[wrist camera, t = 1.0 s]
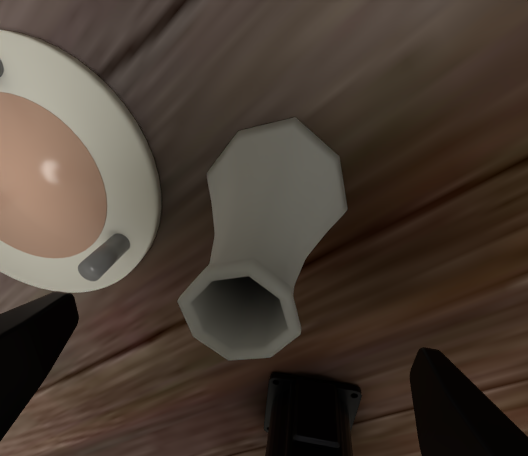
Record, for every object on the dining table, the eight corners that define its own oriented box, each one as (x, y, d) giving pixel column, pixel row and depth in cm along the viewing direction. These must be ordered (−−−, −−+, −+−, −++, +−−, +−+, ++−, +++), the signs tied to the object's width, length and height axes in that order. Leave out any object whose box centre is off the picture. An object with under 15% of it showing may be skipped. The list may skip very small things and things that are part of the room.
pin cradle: (169, 297, 22) (141, 343, 18) (-33, 267, 23) (-96, 304, 20) (149, 40, 15) (98, 34, 12) (-137, 18, 16) (-261, 7, 13)
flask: (257, 266, 20) (211, 429, 11) (185, 165, 18) (54, 269, 9) (370, 213, 17) (427, 369, 9) (302, 87, 15) (284, 124, 6)
